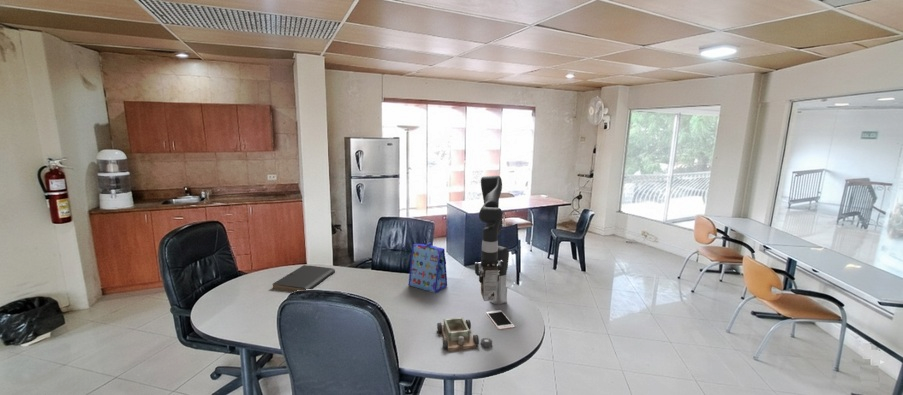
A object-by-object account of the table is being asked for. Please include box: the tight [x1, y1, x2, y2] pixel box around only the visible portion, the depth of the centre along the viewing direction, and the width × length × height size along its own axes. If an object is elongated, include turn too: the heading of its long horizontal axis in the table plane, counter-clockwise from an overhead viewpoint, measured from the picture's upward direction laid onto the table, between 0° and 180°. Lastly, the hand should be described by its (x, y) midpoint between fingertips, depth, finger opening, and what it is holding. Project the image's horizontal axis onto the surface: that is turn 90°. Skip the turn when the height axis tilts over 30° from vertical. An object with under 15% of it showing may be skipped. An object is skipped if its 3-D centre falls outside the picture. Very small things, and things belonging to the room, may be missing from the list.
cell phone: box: [485, 309, 516, 331], centre depth 194 cm, size 9×18×1 cm, turn 16°
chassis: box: [436, 317, 480, 352], centre depth 176 cm, size 16×20×6 cm
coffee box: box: [480, 265, 498, 302], centre depth 175 cm, size 9×6×16 cm
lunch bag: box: [408, 242, 448, 294], centre depth 232 cm, size 22×14×29 cm, turn 58°
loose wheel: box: [480, 337, 493, 349], centre depth 171 cm, size 5×5×2 cm
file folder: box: [272, 264, 336, 292], centre depth 241 cm, size 33×4×24 cm
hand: (488, 282), depth 175 cm, fingers closed on coffee box, 7 cm apart
